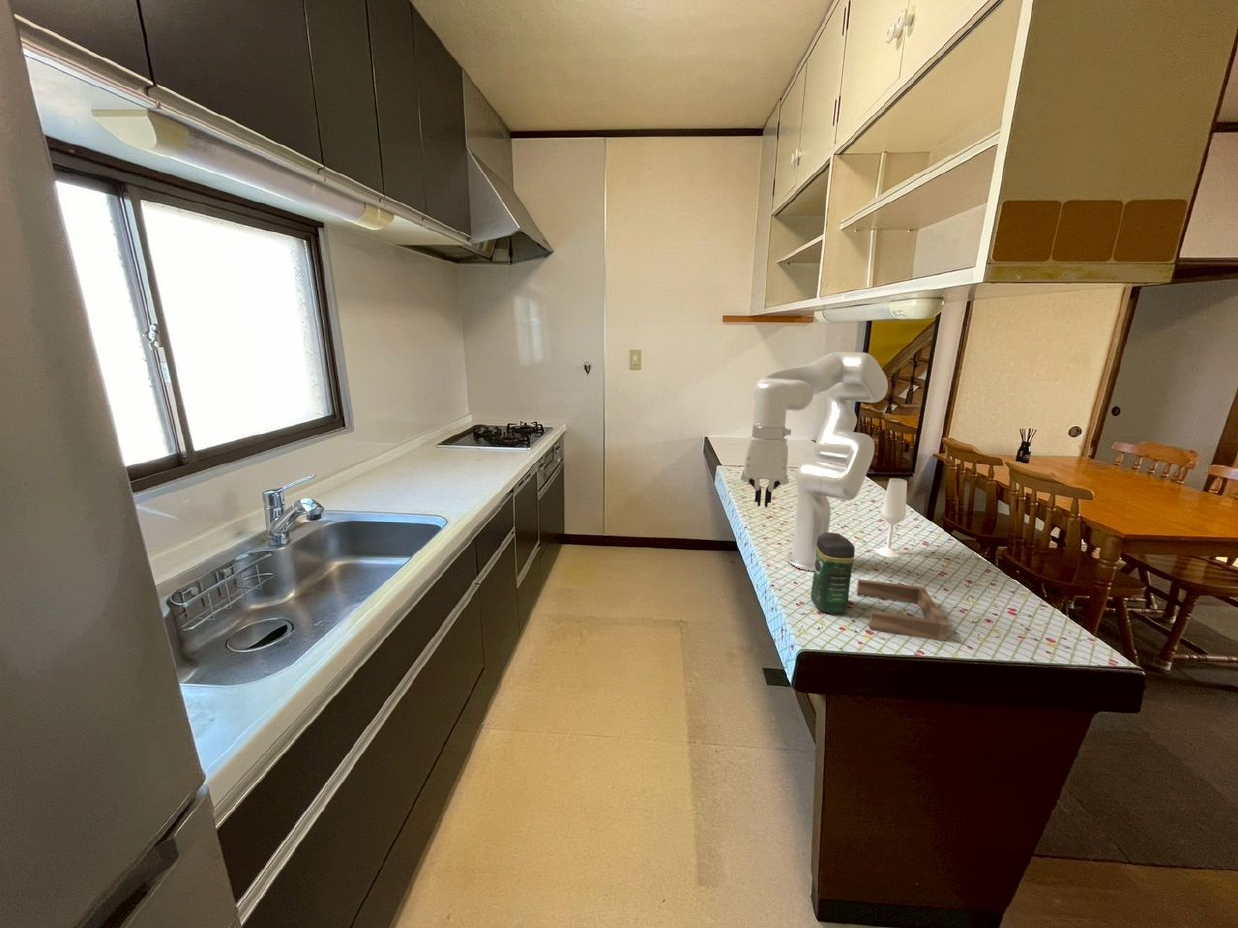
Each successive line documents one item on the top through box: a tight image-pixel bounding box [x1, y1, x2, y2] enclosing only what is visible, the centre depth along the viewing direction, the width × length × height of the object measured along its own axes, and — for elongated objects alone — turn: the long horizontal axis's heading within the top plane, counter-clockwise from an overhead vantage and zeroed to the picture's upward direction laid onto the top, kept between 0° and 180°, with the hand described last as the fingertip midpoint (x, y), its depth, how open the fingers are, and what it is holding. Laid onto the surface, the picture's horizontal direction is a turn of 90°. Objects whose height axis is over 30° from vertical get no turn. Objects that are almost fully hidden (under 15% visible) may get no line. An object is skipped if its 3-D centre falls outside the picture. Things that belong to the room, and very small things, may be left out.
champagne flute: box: [875, 477, 908, 558], centre depth 153 cm, size 7×7×24 cm
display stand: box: [856, 578, 949, 641], centre depth 120 cm, size 18×16×4 cm
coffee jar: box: [810, 532, 856, 615], centre depth 123 cm, size 10×8×19 cm
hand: (762, 504), depth 124 cm, fingers closed
